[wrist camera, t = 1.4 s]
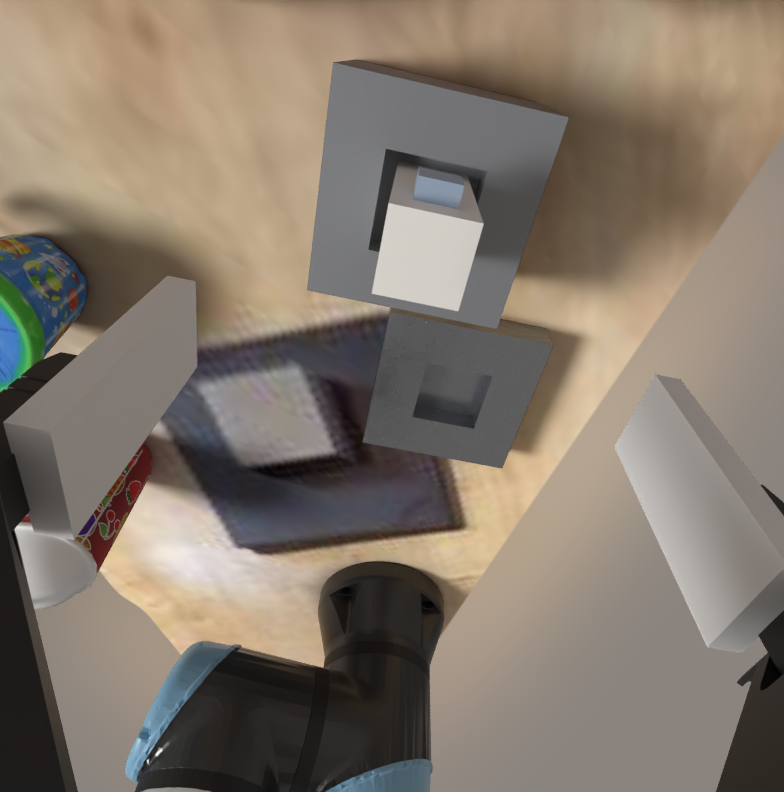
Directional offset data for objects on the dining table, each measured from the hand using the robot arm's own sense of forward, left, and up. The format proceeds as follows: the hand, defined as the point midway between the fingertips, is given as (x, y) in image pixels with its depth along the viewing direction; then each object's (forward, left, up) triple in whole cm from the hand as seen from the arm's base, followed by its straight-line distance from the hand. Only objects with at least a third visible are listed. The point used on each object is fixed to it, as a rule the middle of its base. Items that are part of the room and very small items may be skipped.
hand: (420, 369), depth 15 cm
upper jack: (0, 0, -27) cm, 27 cm away
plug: (0, 0, -19) cm, 19 cm away
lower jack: (-16, -6, -27) cm, 32 cm away
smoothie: (-32, +24, -27) cm, 48 cm away
